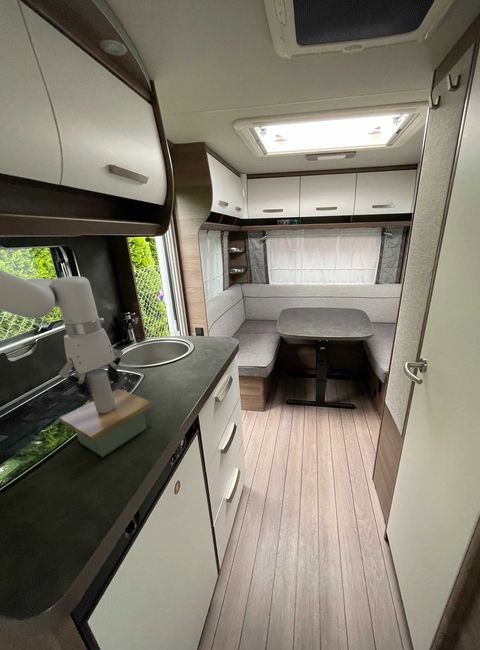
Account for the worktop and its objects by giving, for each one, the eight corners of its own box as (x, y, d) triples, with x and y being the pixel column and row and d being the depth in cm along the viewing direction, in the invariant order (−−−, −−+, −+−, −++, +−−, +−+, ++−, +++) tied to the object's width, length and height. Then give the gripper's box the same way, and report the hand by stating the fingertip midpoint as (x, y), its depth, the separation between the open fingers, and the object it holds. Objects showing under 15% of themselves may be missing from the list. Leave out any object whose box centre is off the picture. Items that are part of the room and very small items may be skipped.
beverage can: (99, 406, 81) (88, 369, 77) (117, 403, 82) (107, 367, 78) (95, 416, 77) (83, 377, 72) (114, 412, 78) (104, 374, 74)
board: (60, 422, 77) (58, 417, 77) (120, 392, 91) (119, 388, 91) (92, 441, 69) (90, 436, 69) (152, 406, 83) (151, 401, 83)
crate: (79, 443, 81) (71, 420, 78) (123, 417, 92) (118, 396, 89) (103, 458, 75) (95, 434, 72) (147, 429, 86) (142, 407, 83)
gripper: (108, 317, 79) (121, 372, 86) (37, 334, 65) (59, 399, 72) (124, 320, 75) (136, 378, 82) (52, 340, 62) (74, 407, 68)
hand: (100, 387), depth 77 cm, fingers open, 7 cm apart
